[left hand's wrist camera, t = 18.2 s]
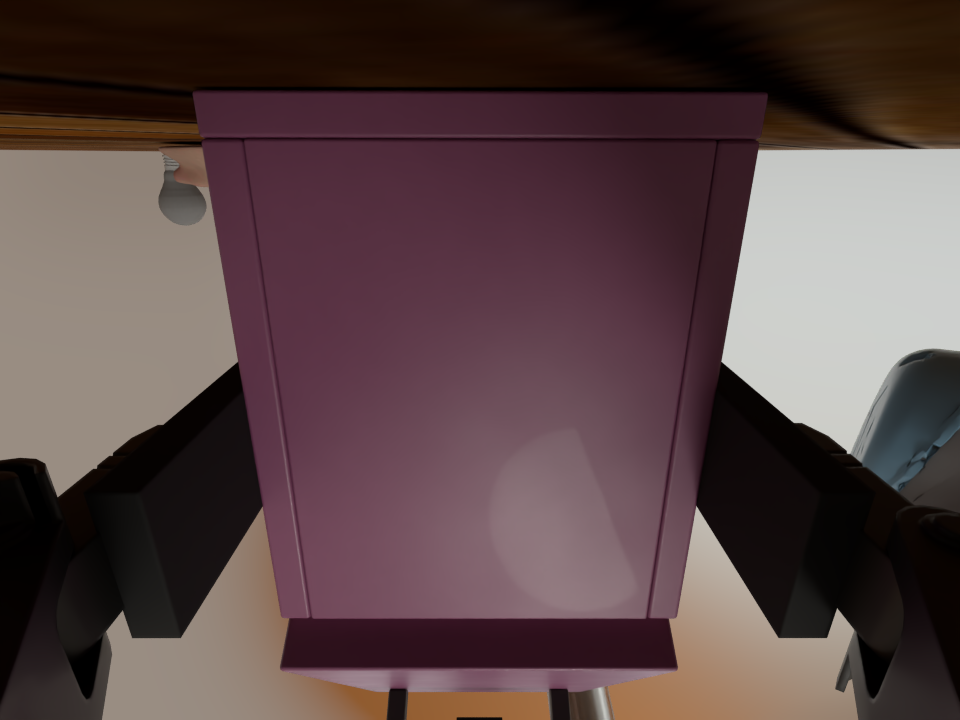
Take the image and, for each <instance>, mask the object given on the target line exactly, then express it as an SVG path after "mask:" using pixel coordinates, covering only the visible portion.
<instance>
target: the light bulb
mask: <svg viewBox="0 0 960 720" xmlns="http://www.w3.org/2000/svg"><path fill="white" fill-rule="evenodd" d="M163 157H164V160H165V162H164V163H165V164H166V165H165V172H164V184H163V187H162V189H161V192H160V195H159V207H160V209H161V211H162V213H163V214H164V215H165V216H166V217H167V218H168V219H169V220H171V221H172V222H174V223H176V224H180V225H192V224H195V223H197V222H199V221H200V220H201V219H202V217H203V216H204V214H205V212H206V201H205V199H204V197H203V195H202V193H201V192H200V191H199V189H198V188H197V187H196V186H195V185H191V184H185V183H180V182H177V181H176V180H175V179H174V175H173V173H174V171H175V170H176V169H177V168H178V167H179V163H178V162H176V161H175V160H173V159H171V158H170V157H168V156H166V155H163Z"/></svg>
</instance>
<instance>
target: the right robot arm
mask: <svg viewBox="0 0 960 720" xmlns="http://www.w3.org/2000/svg"><path fill="white" fill-rule="evenodd" d="M568 693H569V706H570V718H571V720H615V718H614V713H613V708H612V704H611V699H610V695H609V690H608V686H605V687H600V688H596V689H591V690H586V691H582V692H568ZM547 695H548V703H549V711H550V700H549V692H547ZM550 719H551V715H550ZM457 720H502V717H457Z"/></svg>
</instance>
